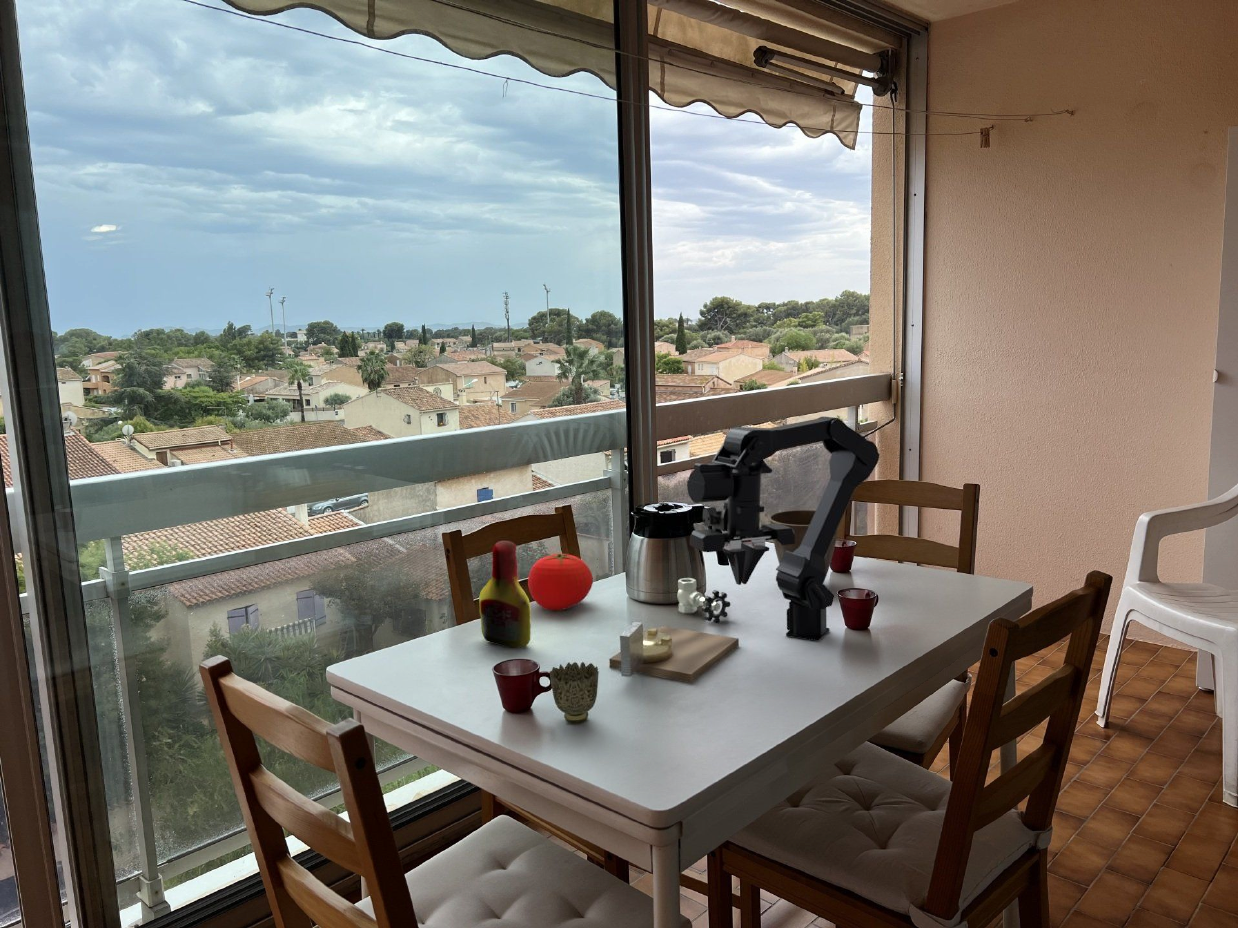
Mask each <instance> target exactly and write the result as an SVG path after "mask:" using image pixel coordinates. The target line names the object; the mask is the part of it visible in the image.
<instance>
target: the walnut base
mask: <svg viewBox="0 0 1238 928" xmlns="http://www.w3.org/2000/svg"><path fill="white" fill-rule="evenodd" d="M657 629H658V632H660V633H664V634H667V635H669V636H670V637H671V638H672V652H673V653H672V655H671V656H670V657H669V658H667V659H665V660H662V661H658V662H651V663H643V664H642V665H641V666H640V667H639V668H638V669H637V671H636V672H635V673H639V674H644V675H649V676H654V677H660V678H663V679H670V680H674V681H678V682H679V681H681V682H685V683H689V684H692V683H694V681H695V680H697V679H699V678H700V677H701V676H702V675H703V674H705V673H706V672H707V671H708V670H710V669H712V667H714V666H715V665H716V664H718V663H719V662H720V661H722V660H723V659H724V658H726V657H727V656H728V655H730V653H732V652H734V651H735V650H736V649H737V648H739V646H740V640H739V638H738V637H732V636H724V635H719V634H714V633H709V632H708V633H707V632H702V631H701V632H700V631H694V630H689V629H682V628H677V627H671V626H670V627H669V626H664V625H662V626H660V627H658V628H657ZM608 663H609V668H613V669H618V670H621V651H620V652H618V653H617V654H614V655H613V656H612V657H610V658H609V662H608Z"/></svg>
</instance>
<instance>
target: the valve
mask: <svg viewBox="0 0 1238 928" xmlns="http://www.w3.org/2000/svg"><path fill="white" fill-rule="evenodd" d="M677 589H678V591H677V595H676V597H677V600H678V602H679V603H678V612H679V613H682V614H694V613H695V612H697V611H698V607H701V612H702V613H706V614H707V615H705V617H704V619H705V621H707V622H711V621H712V622H713V623H716V624H719V623H720V622H721V619H720V617H721V618H722V617H723V618H727V617H728V612H727V611H726V609H727V608H730V607H731V602H730V601H728V600H726V599H727V598H728V594H727V592H723V591H722V592H720V591H719V590H717V589H714V590H713V591H712V593H711V594H712V595H713V596H712V597H711V596H709V595H705V597H704V594H703V593H701V592H699V591H698V590H697V580H696V579H695V578H691V577H684V578H679V579H678V581H677ZM719 602H721V604H720V603H719ZM719 610H720V611H719ZM714 611H715V612H718V613H715V612H714Z"/></svg>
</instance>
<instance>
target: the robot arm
mask: <svg viewBox="0 0 1238 928" xmlns="http://www.w3.org/2000/svg"><path fill="white" fill-rule="evenodd" d="M724 437H725V438H724V441H723V443H722V444H721V446H720V448H719V449H718V451H717V452H716V454H715V456H714V457H713V459H712V460H711V463H710V462H709V463H702V462H695V463H694V466H693V467H694V468H693V469H694V470H692V471H691V472H690V473H689V476H688V480H687V481H686V483H687V484H686V486H687V487H686V488H687V493H688V496H689V498H690V500H691V501H692V502H693V503H696V504H701V503H711V502H712V503H713V502H723V508H722V510H719V511H718V510H717V508H716V507H715V506H713V507H705V508H702V509H703V510H702V523H703V525H704V526H705V527H707V526H708V527H710V526H711V528H712V529H711V528H706V529H697V530H696V529H695V530H693V531H692V532H691V535H690V536H689V546H691V547H693V548H695V549H697V550H699V551H701V552H702V553H713V552H714V553H717V552H721V551H722V552H724V554H725V556H726V558H727V560H728V562H729V565H730V569H731V571H732V575H733V578H734V580H735V584H736V585H738V586H741V585H742V584H743V585H747V584H748V582H749V580H750V579H751V576H752V574H753V572H754V571H755V569H756V567H757V565H758V563H759V562H760V560H761V559H762V557H763V555H764V554H765V553H766V552H769V551H770V547H769V546H766V541H773V540H774V539H777V540H776V541H777V542H778V543H779V544H780V545H789V544H794V543H795V533H794V531H793V529H792V528H790V527H787V526H784V525H782V524H779V523H776V524H770V523H766V524H760V520H761V513H765V506H764V505H762V504H761V496H762V495H761V492H762V475H763V474H764V475H765V474H771V473H773V469H772V468H771V467H770V466H769V465H767V463H766V462H765V460H767V459H768V458H771V457H773V456H774V454H776V453H777V452H779V451H781V450H784V449H789V448H790V449H791V448H795V447H798V446H804V445H809V444H812V443H819V442H821V443H822V446H823V447H824V449H825V450H826V451H827V452H828V453H829V454H831V455H830V459H829V462H828V463H829V475H830V476H829V477H830V478H829V481H828V482H827V485H826V487H825V489H824V491H823V494H822V497H821V499H820V501H819V503H818V505H817V507H816V509H815V510H816V512H815V514H814V516H813V518H812V521H811V523H810V525H809V527H808V529H807V532H806V534H805V536H804V538H803V541H802V543H801V545H800V547H799V548H798V549H796V550H795V551H794V552H793V553H792V552H789V551H785V553H784V554H783V557H782V560H781V563H780V565H779V564H778V566H777V567H776V569H775V571H777V573H776V576H775V581H776V583H777V587H778V589H779V590H780V591H781V592H782V596H783V599H785V600H789V601H788V608H787V609H786V630H787V632H786V633H785V636H787V637H790V638H796V639H802V640H810V641H814V642H815V641H816V642H820V641H821V640H822V639H823V638H824V637H825V636H826V635H827V634H829V632H830V630H831V628H829V627H827V608H828V607H832V605H833V602H834V599H835V594H834V593H833V592H832V590H830V589H829V588H828V587H827V586H826V585H825V583H823V582H825V581H824V579H825V580H826V578H825V575H826V569H825V556H826V553H827V551H828V549H829V546H830V544H831V542H832V540H833V537H834V535H835V533H836V531H837V528H838V529H839V526H840V524H841V521H842V519H843V517H844V514H845V513H846V510H847V507H848V506H849V504H850V501H851V498H852V497H853V495H854V492H855V490H856V489H857V487H859V486H860V485H861V484H862V483H864V482H865V481H866V480H867V479H868V478H869V477H870V475H872V473H873V471H874V470H875V468H876V466H877V464H878V463H879V459H880V453H879V449H878V447H877V445H876V443H874V442H873V441H871V440H868V439H867V438H866V437H864V436H863V435H862V434H860V433H858V432H857V431H855V430H854V429H852V428H851V427H849V426H848V425H847V424H845V422H844V421H843V420H842V419H840V418H838V417H832V416H831V417H830V416H823V415H821V416H820V417H818V418H814V419H809V420H803V421H798V422H793V423H789V424H783V425H779V426H773V427H753V426H752V427H751V426H750V427H749V426H748V427H747V426H746V427H745V426H744V427H743V426H736V427H732V428H731V429H729V430H728V431H727V433H726V436H724ZM718 531H719V532H718ZM720 531H722V532H724V533H721V532H720ZM725 532H726V533H725Z"/></svg>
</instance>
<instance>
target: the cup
mask: <svg viewBox="0 0 1238 928" xmlns="http://www.w3.org/2000/svg"><path fill="white" fill-rule="evenodd" d="M599 672H600V671H599V668H598V666H597V665H596V666H595V665H594V664H593V663H592V662H590V663H589V664H587V665H586V663H585V662H583V661H582V662H581V663H580V666H579V663H577V662H576V661H574V662H572V663H570V662H568V663H566V665H565V667H564V666H563V665H562V664H560V665H559V667H556V666H555V667H554V666H553V667H552V669H551V670H549V677H550V679H549V680H550V684H551V689H552V691H551V692H552V695H553V699H554V704H555V705H556V707H557V709H559V711H561V712H562V713H563V717H564V720H565V722H567V723H569V724H573V725H574V724H575V725H578V724H583V723H585V722H587V720H588V719H589V718H588V717H589V711H591V710H592V708H593V707H594V706H595V704H596V701H597V696H598V689H599V687H598V686H599Z"/></svg>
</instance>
